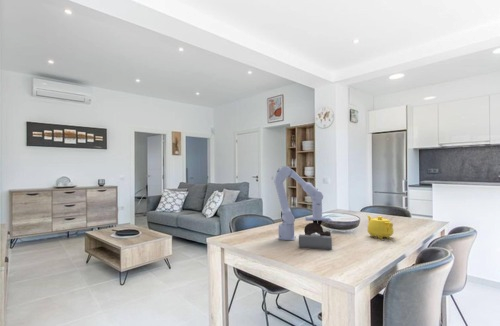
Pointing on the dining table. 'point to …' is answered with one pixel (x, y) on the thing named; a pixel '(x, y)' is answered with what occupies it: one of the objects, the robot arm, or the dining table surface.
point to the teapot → (380, 227)
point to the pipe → (315, 229)
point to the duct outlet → (315, 241)
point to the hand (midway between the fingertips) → (317, 232)
